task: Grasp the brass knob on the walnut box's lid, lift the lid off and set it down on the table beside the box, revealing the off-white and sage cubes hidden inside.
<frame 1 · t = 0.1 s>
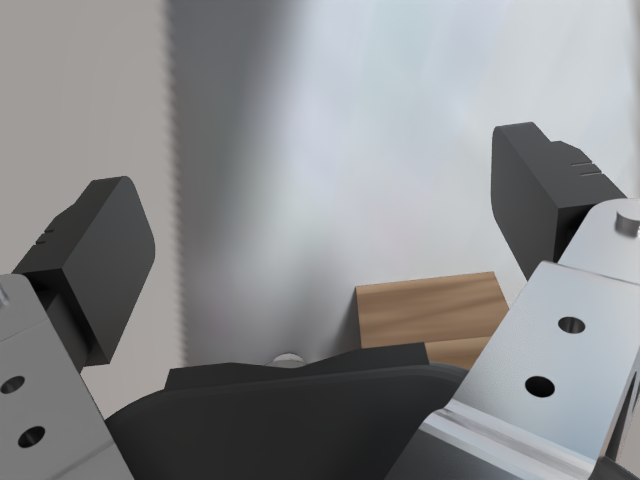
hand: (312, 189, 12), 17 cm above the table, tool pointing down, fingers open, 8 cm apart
lid: (441, 402, 34), point 6 cm above the table, touching box
light bulb: (289, 354, 40), on the table
box: (425, 333, 39), on the table
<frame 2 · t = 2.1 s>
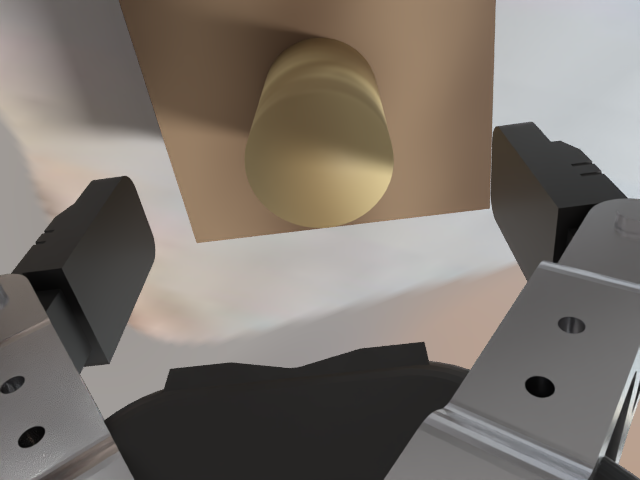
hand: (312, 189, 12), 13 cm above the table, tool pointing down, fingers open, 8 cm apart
lid: (321, 84, 18), point 6 cm above the table, touching box
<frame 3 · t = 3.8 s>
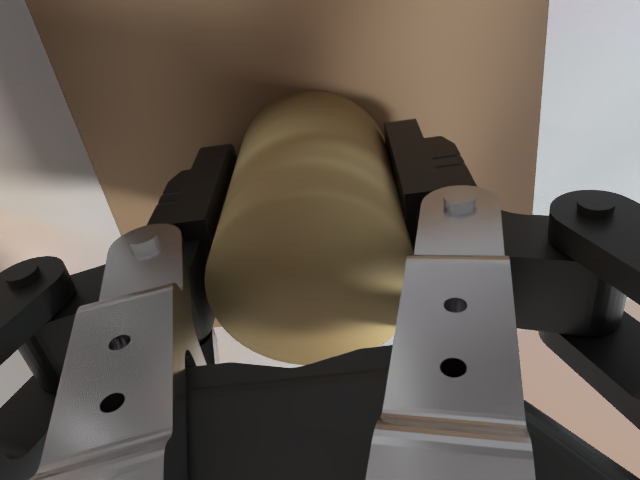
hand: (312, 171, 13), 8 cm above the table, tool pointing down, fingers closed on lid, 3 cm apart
lid: (314, 142, 14), point 6 cm above the table, touching box, gripper
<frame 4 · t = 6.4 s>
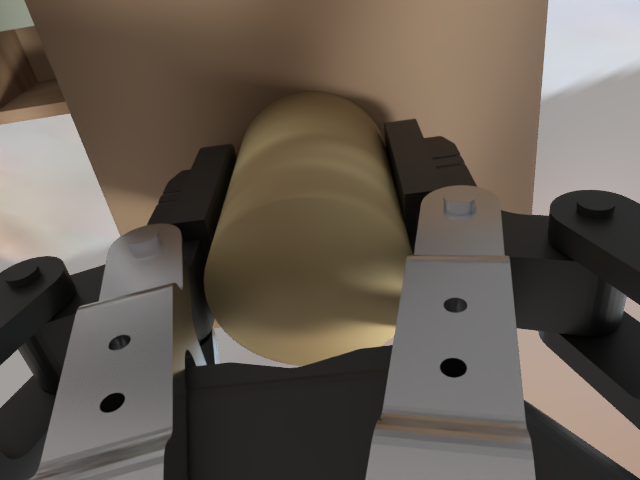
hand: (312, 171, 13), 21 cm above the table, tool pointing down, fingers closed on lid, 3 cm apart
lid: (313, 143, 14), point 19 cm above the table, touching gripper
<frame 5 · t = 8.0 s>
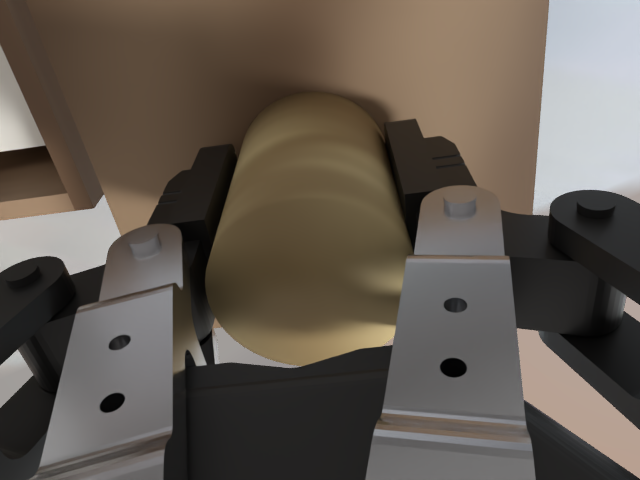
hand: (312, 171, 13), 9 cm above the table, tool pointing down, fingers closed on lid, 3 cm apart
lid: (314, 144, 14), point 7 cm above the table, touching gripper
cube offwhite: (34, 64, 19), point 1 cm above the table, touching box
when the fingers open (4 cm above the table, at t = 9.2 s): lid drops 2 cm, point 1 cm above the table.
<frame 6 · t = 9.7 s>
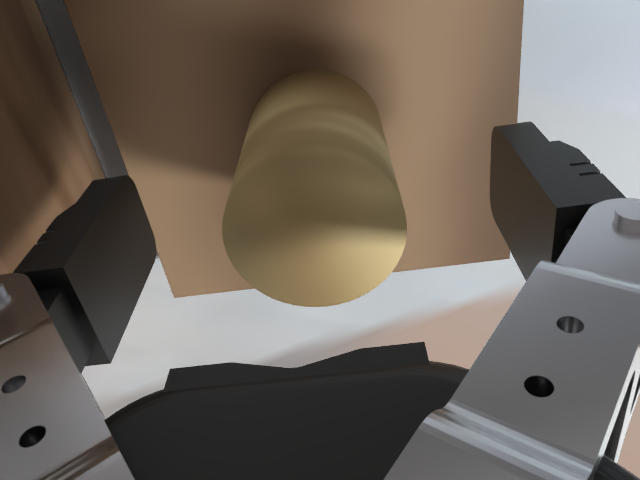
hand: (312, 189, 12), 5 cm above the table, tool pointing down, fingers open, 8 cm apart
lid: (315, 120, 16), point 1 cm above the table
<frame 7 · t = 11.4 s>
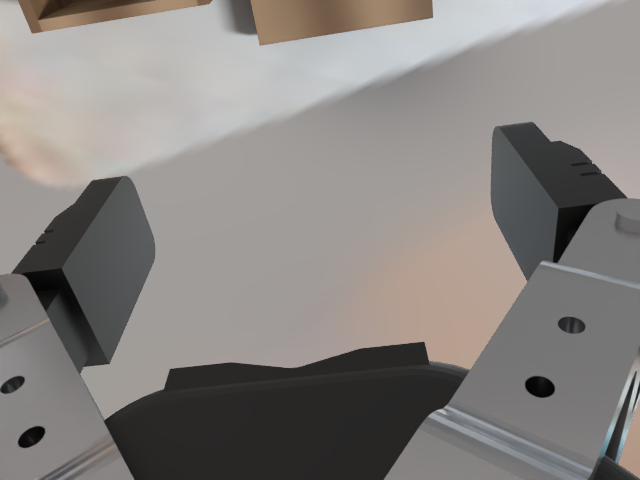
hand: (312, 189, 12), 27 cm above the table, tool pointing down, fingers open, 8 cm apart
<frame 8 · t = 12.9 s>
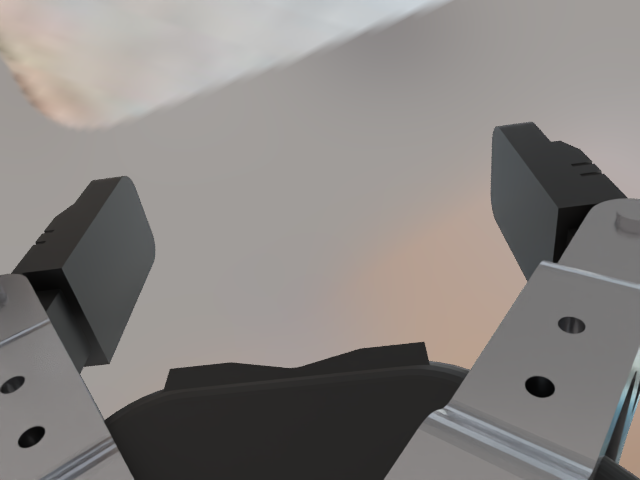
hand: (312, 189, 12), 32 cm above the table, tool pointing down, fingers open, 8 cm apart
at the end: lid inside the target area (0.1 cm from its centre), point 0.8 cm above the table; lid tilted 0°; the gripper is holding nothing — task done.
